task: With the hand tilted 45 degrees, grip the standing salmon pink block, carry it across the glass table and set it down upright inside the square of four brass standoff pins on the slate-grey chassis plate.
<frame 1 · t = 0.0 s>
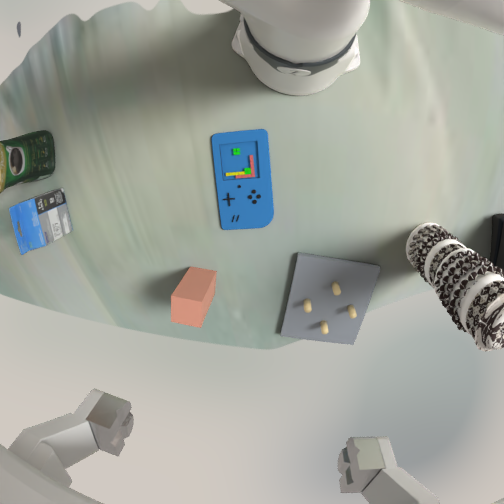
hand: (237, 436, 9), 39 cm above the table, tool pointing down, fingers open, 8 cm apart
label tape box: (62, 210, 50), on the table
handheld gaming device: (244, 179, 45), on the table
chassis plate: (328, 300, 51), on the table
coffee jar: (44, 154, 46), on the table
salmon pink block: (202, 280, 52), on the table
decorative candle: (426, 245, 45), on the table
black ribbed casing: (495, 245, 43), on the table
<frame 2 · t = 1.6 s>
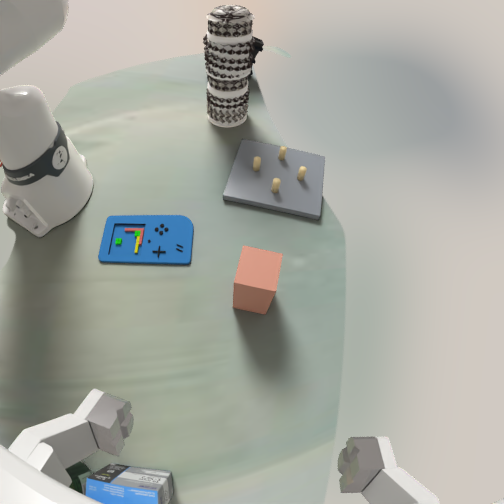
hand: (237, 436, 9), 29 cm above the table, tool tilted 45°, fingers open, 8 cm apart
label tape box: (142, 479, 29), on the table
handheld gaming device: (146, 240, 45), on the table
chassis plate: (277, 177, 52), on the table
coffee jar: (69, 476, 27), on the table
salmon pink block: (252, 295, 42), on the table
decorative candle: (227, 116, 59), on the table
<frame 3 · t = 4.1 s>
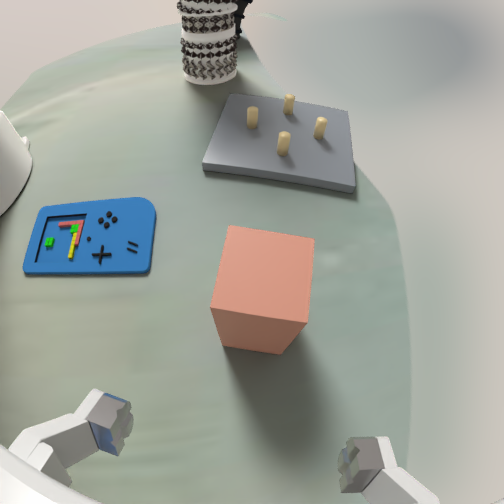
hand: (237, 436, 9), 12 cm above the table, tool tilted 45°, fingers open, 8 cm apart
handheld gaming device: (87, 239, 27), on the table
chassis plate: (284, 138, 34), on the table
salmon pink block: (256, 322, 24), on the table
decorative candle: (210, 74, 42), on the table
black ribbed casing: (218, 39, 50), on the table
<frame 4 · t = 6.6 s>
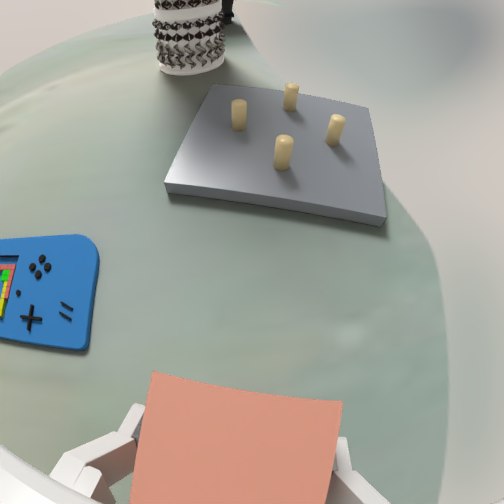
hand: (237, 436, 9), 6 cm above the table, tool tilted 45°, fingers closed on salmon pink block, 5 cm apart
handheld gaming device: (21, 290, 18), on the table
chassis plate: (284, 143, 24), on the table
salmon pink block: (236, 434, 14), on the table, touching gripper
decorative candle: (191, 62, 32), on the table
black ribbed casing: (206, 24, 40), on the table
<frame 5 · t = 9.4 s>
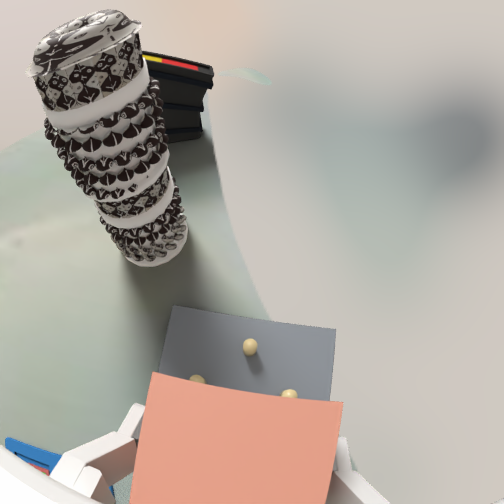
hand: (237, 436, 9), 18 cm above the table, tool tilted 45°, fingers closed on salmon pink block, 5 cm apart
handheld gaming device: (57, 484, 19), on the table
chassis plate: (242, 391, 26), on the table
salmon pink block: (236, 434, 14), point 12 cm above the table, touching gripper
decorative candle: (153, 235, 34), on the table
black ribbed casing: (172, 137, 42), on the table
when the fingers open (9 cm above the table, at t = 12.3 s): salmon pink block drops 1 cm, resting on chassis plate.
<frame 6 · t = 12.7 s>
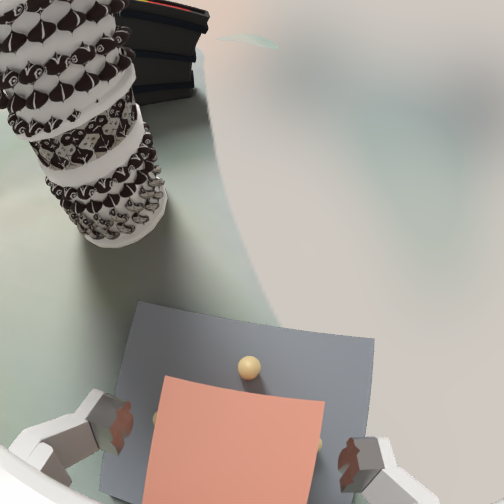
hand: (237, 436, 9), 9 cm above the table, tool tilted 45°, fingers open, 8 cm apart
chassis plate: (237, 429, 16), on the table
salmon pink block: (236, 431, 15), point 1 cm above the table, touching chassis plate
decorative candle: (121, 207, 24), on the table
black ribbed casing: (158, 98, 32), on the table
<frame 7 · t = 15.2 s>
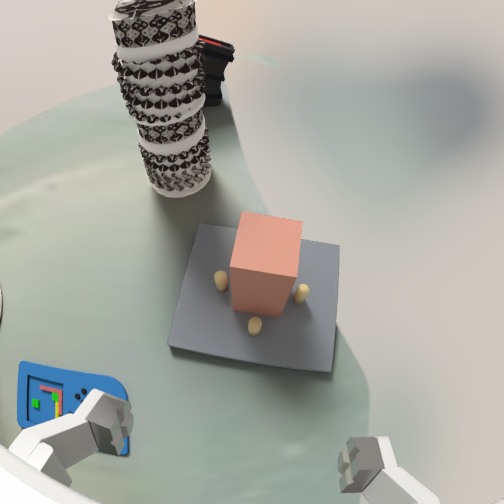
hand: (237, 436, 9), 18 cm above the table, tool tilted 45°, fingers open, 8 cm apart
handheld gaming device: (69, 406, 25), on the table
chassis plate: (259, 296, 31), on the table
salmon pink block: (259, 292, 30), point 1 cm above the table, touching chassis plate
decorative candle: (180, 175, 39), on the table
black ribbed casing: (195, 104, 47), on the table
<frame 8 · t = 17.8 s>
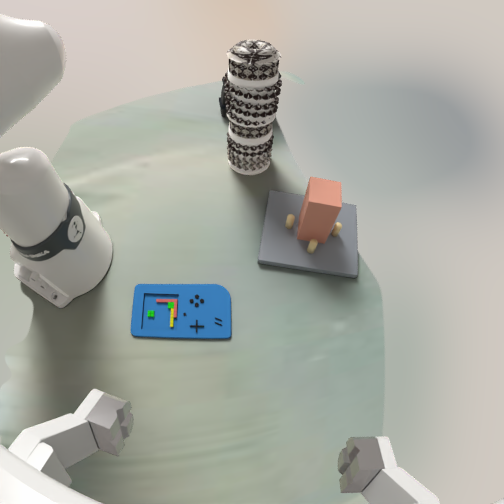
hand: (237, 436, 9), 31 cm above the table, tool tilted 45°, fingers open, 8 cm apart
handheld gaming device: (181, 312, 44), on the table
chassis plate: (310, 233, 50), on the table
salmon pink block: (311, 229, 49), point 1 cm above the table, touching chassis plate
decorative candle: (249, 160, 58), on the table
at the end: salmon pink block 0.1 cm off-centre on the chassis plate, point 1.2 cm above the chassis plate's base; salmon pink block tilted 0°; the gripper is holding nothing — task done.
